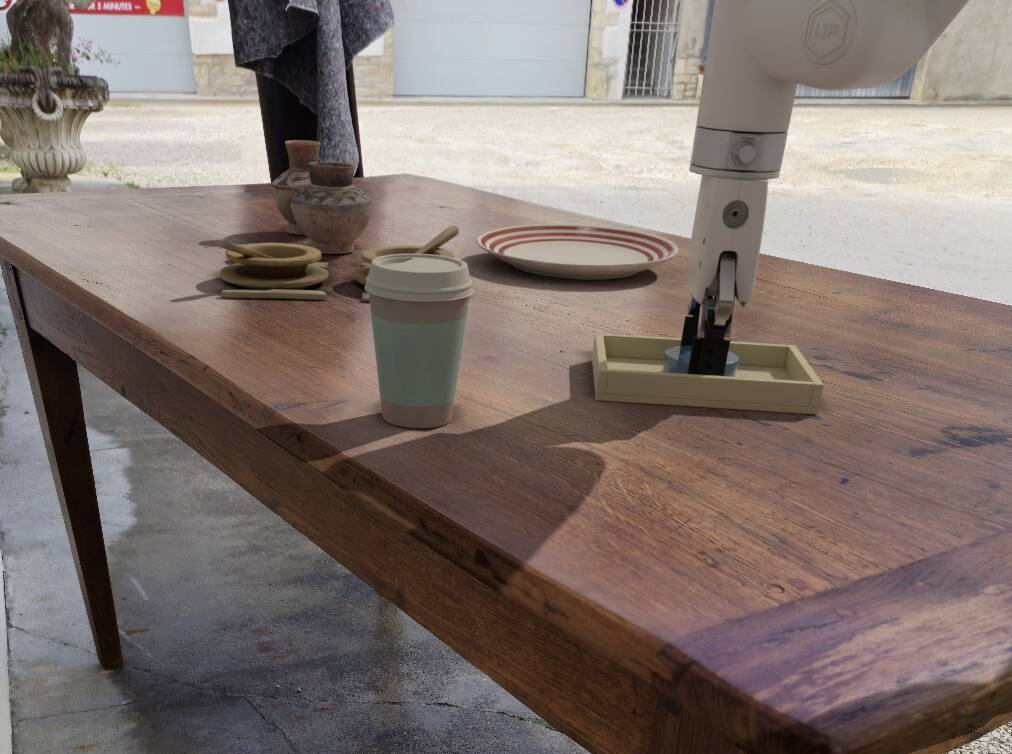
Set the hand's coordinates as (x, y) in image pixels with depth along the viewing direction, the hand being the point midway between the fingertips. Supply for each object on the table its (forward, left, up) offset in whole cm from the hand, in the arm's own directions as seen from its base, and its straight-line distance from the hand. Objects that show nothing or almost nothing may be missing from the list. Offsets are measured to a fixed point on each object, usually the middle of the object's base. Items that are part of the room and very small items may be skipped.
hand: (699, 370), depth 97 cm
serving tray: (0, 0, -1) cm, 1 cm away
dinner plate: (+11, -55, -2) cm, 56 cm away
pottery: (+48, -62, -2) cm, 78 cm away
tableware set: (+40, -35, -2) cm, 53 cm away
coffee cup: (+25, +15, -2) cm, 29 cm away
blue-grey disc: (0, 0, -1) cm, 1 cm away
